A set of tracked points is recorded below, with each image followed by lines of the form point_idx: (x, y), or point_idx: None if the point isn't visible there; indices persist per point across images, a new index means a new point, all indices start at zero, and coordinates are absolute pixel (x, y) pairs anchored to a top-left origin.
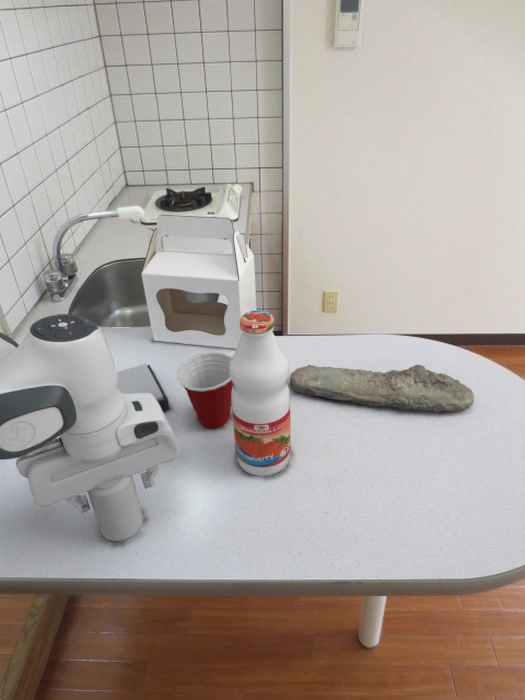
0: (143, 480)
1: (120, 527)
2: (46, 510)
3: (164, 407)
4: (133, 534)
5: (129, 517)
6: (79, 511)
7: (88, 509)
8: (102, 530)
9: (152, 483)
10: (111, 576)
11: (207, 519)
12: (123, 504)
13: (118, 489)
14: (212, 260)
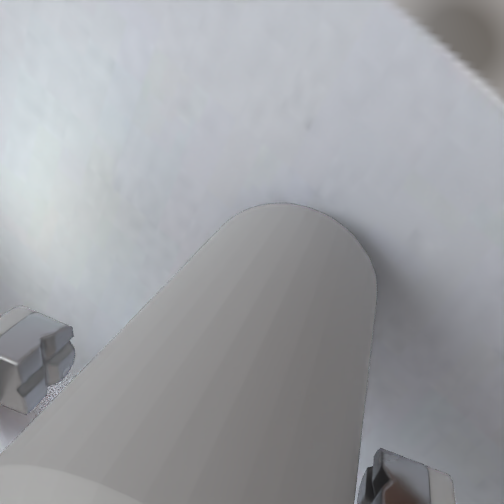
0: (17, 374)
1: (299, 249)
2: (466, 501)
3: None
4: (275, 203)
5: (229, 256)
6: (453, 501)
7: (393, 465)
8: (373, 305)
9: (7, 322)
10: (475, 84)
11: (22, 70)
12: (182, 334)
13: (73, 499)
14: None
